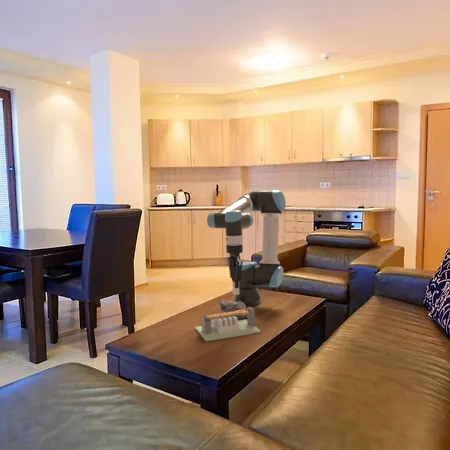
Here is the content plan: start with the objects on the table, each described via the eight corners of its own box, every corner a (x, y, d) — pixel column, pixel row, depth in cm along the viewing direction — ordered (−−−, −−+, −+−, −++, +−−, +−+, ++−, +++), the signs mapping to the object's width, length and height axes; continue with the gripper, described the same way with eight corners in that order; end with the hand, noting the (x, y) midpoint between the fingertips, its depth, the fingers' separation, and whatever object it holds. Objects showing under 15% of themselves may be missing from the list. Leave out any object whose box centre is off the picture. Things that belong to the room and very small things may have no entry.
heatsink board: (195, 328, 183) (194, 310, 182) (245, 321, 192) (245, 303, 191) (206, 341, 167) (205, 321, 166) (260, 332, 176) (260, 313, 175)
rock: (215, 316, 199) (217, 298, 197) (223, 311, 206) (225, 293, 204) (242, 326, 192) (244, 307, 190) (249, 320, 199) (252, 302, 197)
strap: (206, 320, 173) (206, 318, 172) (203, 317, 177) (203, 315, 177) (249, 314, 180) (248, 311, 180) (244, 311, 184) (244, 308, 184)
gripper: (221, 243, 182) (223, 291, 185) (231, 246, 170) (233, 299, 172) (236, 241, 185) (238, 289, 187) (247, 245, 173) (249, 296, 175)
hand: (236, 294), depth 180 cm, fingers closed
